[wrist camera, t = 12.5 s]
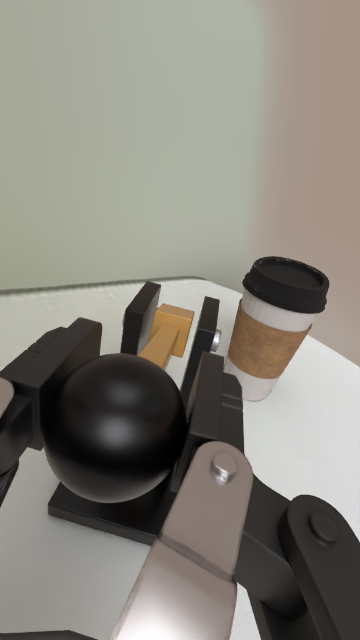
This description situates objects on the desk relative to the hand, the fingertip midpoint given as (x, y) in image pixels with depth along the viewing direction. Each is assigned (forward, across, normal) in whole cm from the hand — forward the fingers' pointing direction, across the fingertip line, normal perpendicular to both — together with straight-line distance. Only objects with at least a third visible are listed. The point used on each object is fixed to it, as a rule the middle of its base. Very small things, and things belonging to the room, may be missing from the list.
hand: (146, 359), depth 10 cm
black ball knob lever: (+2, 0, +3) cm, 4 cm away
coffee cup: (+21, -9, +16) cm, 28 cm away
